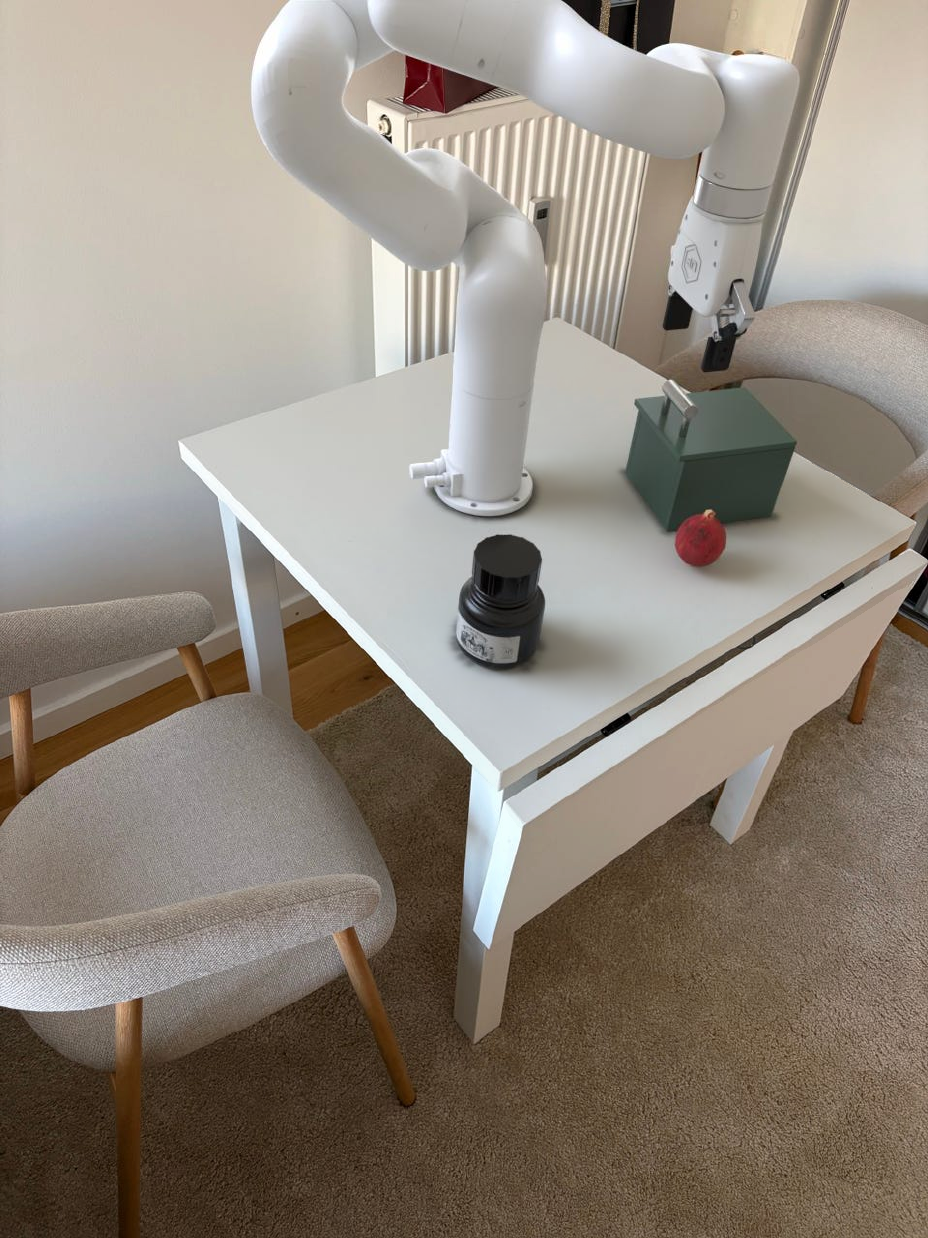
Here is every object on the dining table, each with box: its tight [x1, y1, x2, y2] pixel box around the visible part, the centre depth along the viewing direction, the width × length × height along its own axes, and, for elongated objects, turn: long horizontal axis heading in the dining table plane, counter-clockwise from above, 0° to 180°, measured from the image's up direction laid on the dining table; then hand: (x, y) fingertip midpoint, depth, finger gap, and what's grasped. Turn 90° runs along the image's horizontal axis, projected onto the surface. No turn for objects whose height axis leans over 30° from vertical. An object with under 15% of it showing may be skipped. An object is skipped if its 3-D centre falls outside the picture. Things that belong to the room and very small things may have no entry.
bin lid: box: [633, 379, 798, 462], centre depth 119 cm, size 16×13×5 cm
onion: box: [674, 509, 727, 568], centre depth 115 cm, size 6×6×8 cm
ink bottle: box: [455, 533, 546, 670], centre depth 102 cm, size 10×9×12 cm
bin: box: [624, 410, 796, 532], centre depth 124 cm, size 15×13×10 cm
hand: (694, 348), depth 112 cm, fingers open, 9 cm apart
